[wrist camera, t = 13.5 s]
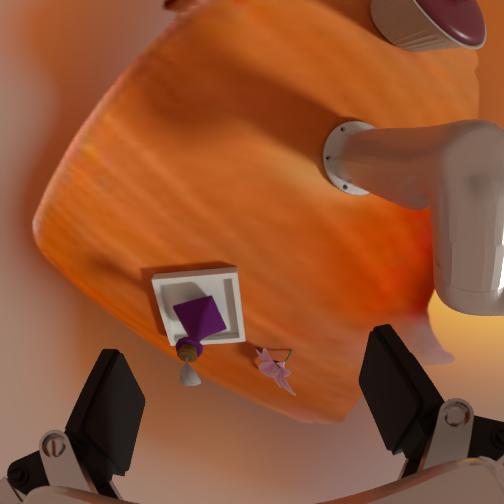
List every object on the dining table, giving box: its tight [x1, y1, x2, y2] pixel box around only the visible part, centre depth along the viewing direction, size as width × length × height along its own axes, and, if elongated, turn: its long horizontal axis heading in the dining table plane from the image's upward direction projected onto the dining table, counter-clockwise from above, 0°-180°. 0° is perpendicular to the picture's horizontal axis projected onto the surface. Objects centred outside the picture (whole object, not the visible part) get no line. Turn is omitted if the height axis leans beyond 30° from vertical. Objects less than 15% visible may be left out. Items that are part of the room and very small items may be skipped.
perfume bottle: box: [173, 295, 227, 386], centre depth 41 cm, size 8×8×18 cm
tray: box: [152, 267, 245, 346], centre depth 49 cm, size 15×15×2 cm
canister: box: [370, 0, 486, 52], centre depth 21 cm, size 18×18×21 cm
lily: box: [255, 348, 296, 396], centre depth 53 cm, size 12×12×10 cm
